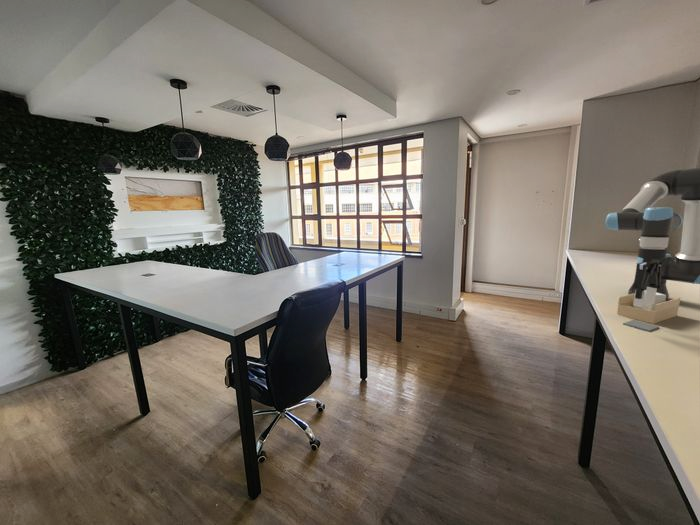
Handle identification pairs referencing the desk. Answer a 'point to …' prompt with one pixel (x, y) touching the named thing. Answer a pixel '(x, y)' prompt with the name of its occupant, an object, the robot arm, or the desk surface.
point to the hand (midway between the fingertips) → (643, 304)
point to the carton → (660, 314)
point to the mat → (641, 325)
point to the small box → (651, 307)
